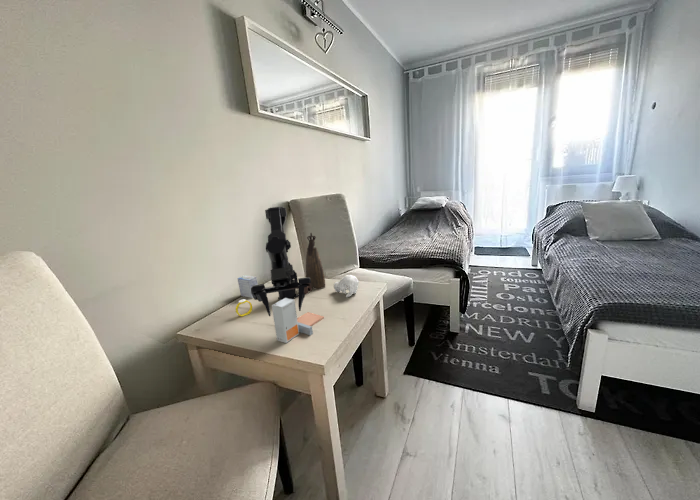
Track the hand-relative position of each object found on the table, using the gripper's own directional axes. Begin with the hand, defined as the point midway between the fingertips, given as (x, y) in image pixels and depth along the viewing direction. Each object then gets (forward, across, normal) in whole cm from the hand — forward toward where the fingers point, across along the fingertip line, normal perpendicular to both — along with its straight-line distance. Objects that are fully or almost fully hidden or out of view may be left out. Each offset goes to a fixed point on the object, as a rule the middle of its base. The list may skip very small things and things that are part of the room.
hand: (284, 313), depth 90 cm
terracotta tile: (0, +7, +12) cm, 14 cm away
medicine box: (-25, -17, +37) cm, 48 cm away
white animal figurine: (-14, +24, +25) cm, 37 cm away
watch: (-11, -16, +22) cm, 30 cm away
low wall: (+3, +3, +8) cm, 9 cm away
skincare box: (+6, 0, +6) cm, 8 cm away
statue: (-24, +12, +35) cm, 44 cm away
